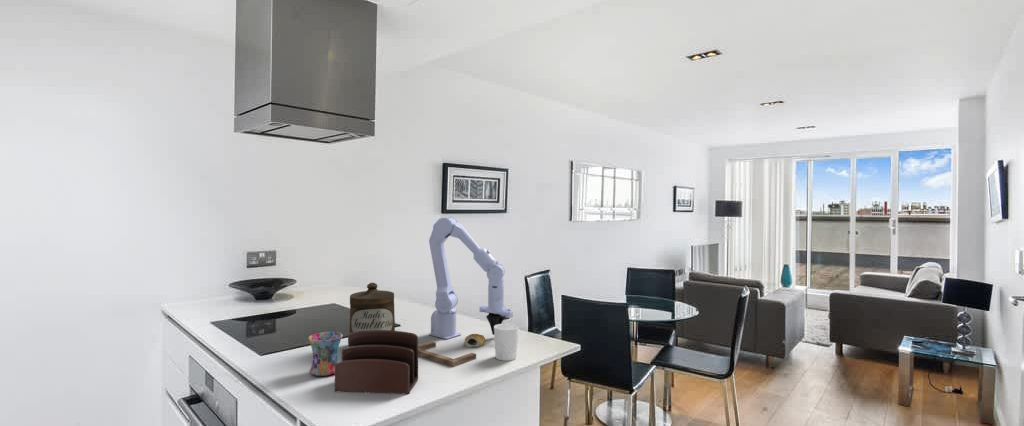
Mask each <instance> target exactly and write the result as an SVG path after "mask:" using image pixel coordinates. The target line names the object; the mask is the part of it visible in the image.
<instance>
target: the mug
mask: <svg viewBox="0 0 1024 426" xmlns="http://www.w3.org/2000/svg"><path fill="white" fill-rule="evenodd" d="M343 336H344V335H343V333H341V332H337V331H324V332H317V333H313V334H311V335H309V336H308V338H307V340H308V342H309V345H310V346H311V350H312V362H311V363H312V364H311V367H310V369H309V373H310V374H311V375H313V376H317V377H323V376H330V375H335V364H336V363H337V362H340V360H339V348H340V344H341V340H342V338H343Z"/></svg>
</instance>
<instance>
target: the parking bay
mask: <svg viewBox="0 0 1024 426" xmlns="http://www.w3.org/2000/svg"><path fill="white" fill-rule="evenodd" d="M436 347H437V342H435V341H428V342H425V343H422V344H418V357H421V358H425V359H427V360H430V361H432V362H433V361H434V362H437V363H440V364H443V365H447V366H450V367H453V368H454V367H457V366H460V365H462V364H465V363H469V362H470V361H473V360H476V359H477V353H476V352H470V353H466V354H464V355H461V356H458V357H456V358H455V357H454V358H452V357H448V356H446V355H442V354H438V353H436V352H432V351H429V350H430V349H434V348H436Z"/></svg>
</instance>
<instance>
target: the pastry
mask: <svg viewBox="0 0 1024 426" xmlns="http://www.w3.org/2000/svg"><path fill="white" fill-rule="evenodd" d="M485 342H486V338H485V335H483V334H478V333H471V334H468V335H467V336H465V339H464V342H463V345H464V347H467V348H468V347H469V348H480V347H483V345H485Z"/></svg>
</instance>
